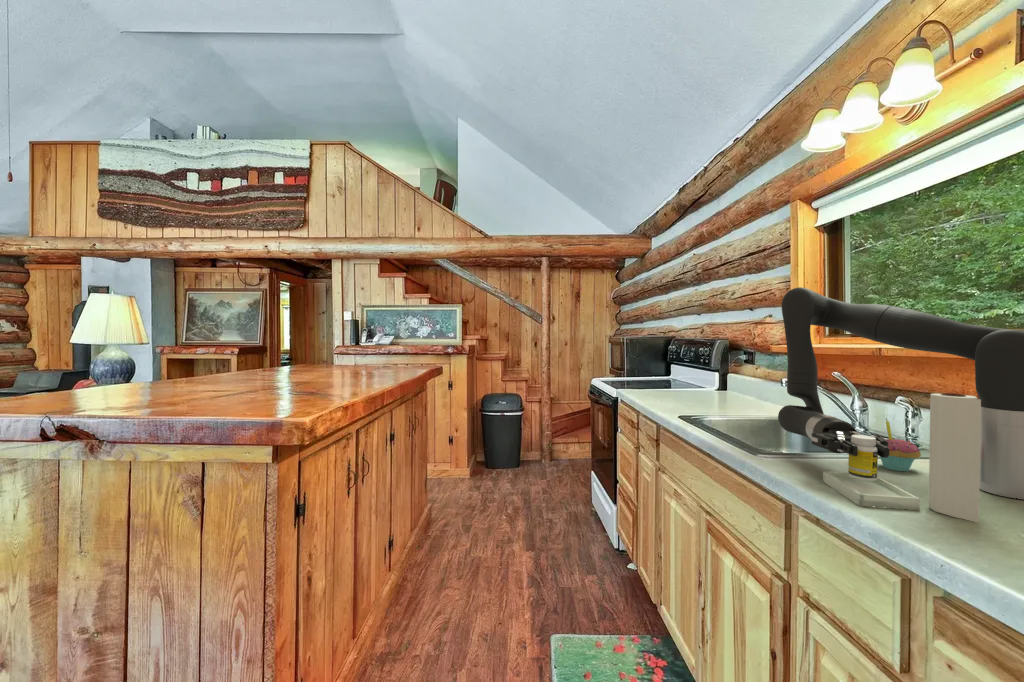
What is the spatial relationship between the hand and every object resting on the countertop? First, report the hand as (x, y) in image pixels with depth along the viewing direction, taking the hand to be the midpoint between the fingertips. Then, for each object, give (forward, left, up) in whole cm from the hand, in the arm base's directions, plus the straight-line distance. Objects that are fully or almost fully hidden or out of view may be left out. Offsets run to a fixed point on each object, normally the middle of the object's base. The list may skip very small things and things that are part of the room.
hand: (870, 451), depth 90 cm
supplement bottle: (0, -3, -6) cm, 7 cm away
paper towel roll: (-10, +7, -9) cm, 15 cm away
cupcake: (-17, -23, -9) cm, 30 cm away
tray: (0, -1, -9) cm, 9 cm away
